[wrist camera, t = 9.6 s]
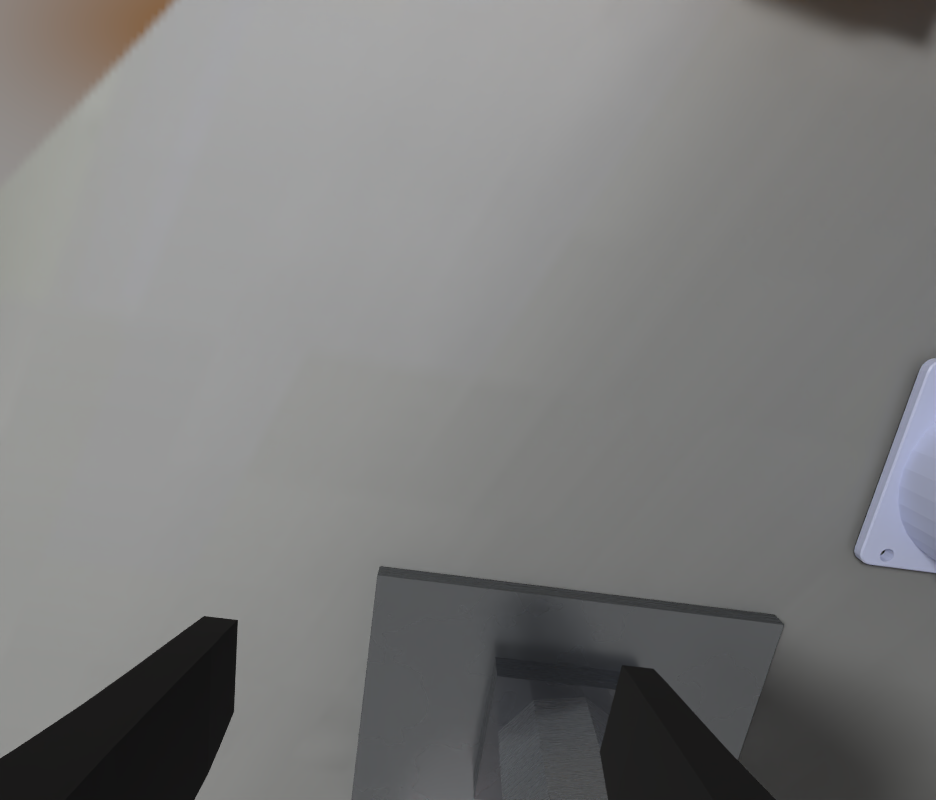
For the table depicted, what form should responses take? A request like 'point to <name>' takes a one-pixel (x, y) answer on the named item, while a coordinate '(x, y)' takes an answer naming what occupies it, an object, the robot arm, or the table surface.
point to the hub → (554, 751)
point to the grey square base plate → (529, 672)
